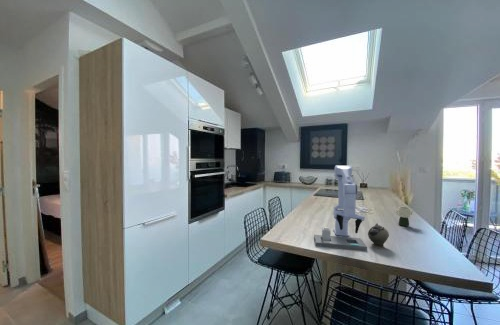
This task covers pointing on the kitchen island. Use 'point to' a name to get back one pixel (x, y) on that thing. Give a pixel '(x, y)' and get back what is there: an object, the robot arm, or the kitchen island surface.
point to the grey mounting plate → (341, 242)
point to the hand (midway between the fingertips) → (348, 231)
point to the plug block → (325, 234)
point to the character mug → (404, 215)
